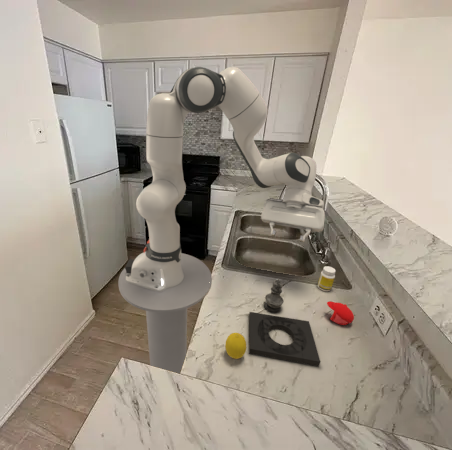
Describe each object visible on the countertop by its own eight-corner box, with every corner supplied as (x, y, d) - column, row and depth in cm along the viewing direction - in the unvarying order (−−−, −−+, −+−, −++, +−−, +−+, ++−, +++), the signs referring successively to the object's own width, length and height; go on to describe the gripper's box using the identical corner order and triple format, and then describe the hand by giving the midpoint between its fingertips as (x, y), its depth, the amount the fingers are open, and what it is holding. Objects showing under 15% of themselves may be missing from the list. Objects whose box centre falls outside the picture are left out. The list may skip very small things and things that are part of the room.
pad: (249, 353, 70) (250, 348, 70) (248, 316, 83) (249, 311, 82) (318, 366, 67) (320, 361, 66) (307, 325, 80) (309, 321, 79)
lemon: (240, 368, 66) (243, 347, 63) (220, 358, 69) (223, 337, 65) (247, 353, 71) (251, 332, 67) (229, 343, 73) (231, 323, 70)
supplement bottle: (333, 291, 94) (339, 273, 90) (320, 291, 94) (326, 273, 90) (327, 283, 98) (332, 265, 95) (314, 283, 98) (320, 265, 95)
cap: (350, 316, 83) (355, 302, 81) (352, 330, 78) (358, 315, 76) (323, 309, 86) (327, 295, 83) (323, 321, 81) (328, 307, 78)
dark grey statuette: (262, 310, 85) (268, 281, 80) (265, 299, 90) (270, 271, 85) (281, 315, 83) (287, 286, 78) (282, 303, 88) (288, 275, 83)
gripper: (264, 193, 91) (254, 229, 88) (329, 201, 81) (320, 242, 78) (267, 200, 96) (257, 234, 93) (327, 209, 87) (319, 247, 84)
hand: (286, 238), depth 86 cm, fingers open, 8 cm apart
